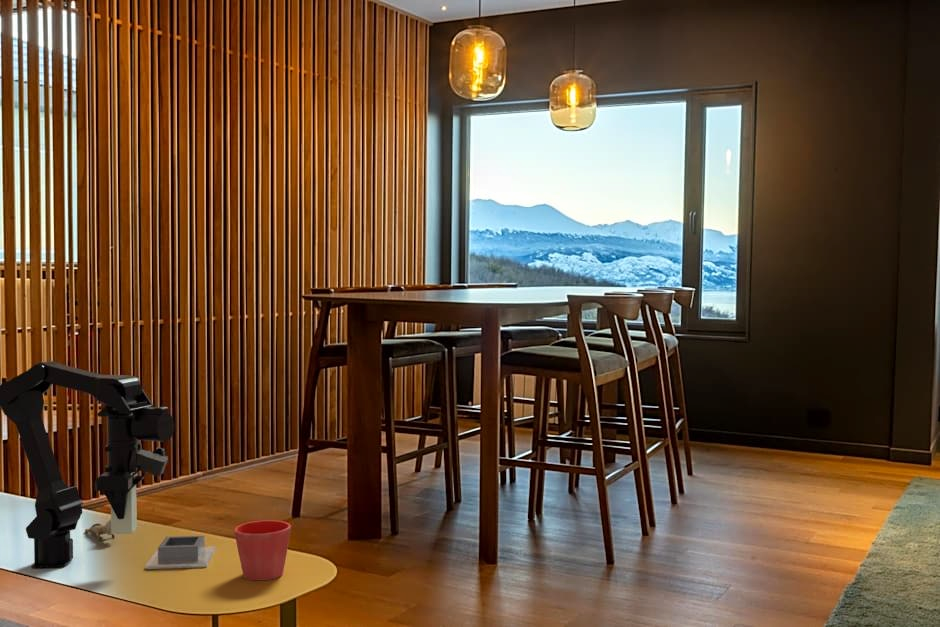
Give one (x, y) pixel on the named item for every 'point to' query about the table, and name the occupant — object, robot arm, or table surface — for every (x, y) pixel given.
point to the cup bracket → (181, 553)
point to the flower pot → (262, 548)
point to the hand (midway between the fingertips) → (123, 516)
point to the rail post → (126, 516)
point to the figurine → (101, 529)
